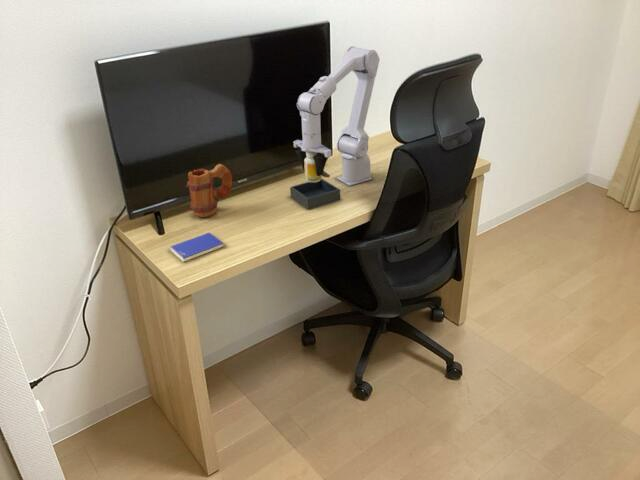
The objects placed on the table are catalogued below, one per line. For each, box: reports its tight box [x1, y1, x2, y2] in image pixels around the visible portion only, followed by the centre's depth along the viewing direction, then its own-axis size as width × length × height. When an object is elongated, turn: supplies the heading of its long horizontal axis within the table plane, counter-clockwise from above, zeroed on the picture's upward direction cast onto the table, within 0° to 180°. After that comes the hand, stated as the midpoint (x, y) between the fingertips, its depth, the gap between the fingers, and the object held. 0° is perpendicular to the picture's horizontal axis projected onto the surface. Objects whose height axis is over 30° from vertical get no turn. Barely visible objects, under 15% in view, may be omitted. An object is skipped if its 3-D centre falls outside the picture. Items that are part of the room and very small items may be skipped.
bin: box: [289, 177, 341, 210], centre depth 188 cm, size 12×11×4 cm
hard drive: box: [169, 232, 224, 262], centre depth 163 cm, size 2×8×12 cm
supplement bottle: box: [304, 151, 322, 183], centre depth 184 cm, size 5×5×10 cm
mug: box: [185, 163, 233, 218], centre depth 180 cm, size 15×8×15 cm, turn 117°
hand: (313, 172), depth 185 cm, fingers closed on supplement bottle, 5 cm apart
